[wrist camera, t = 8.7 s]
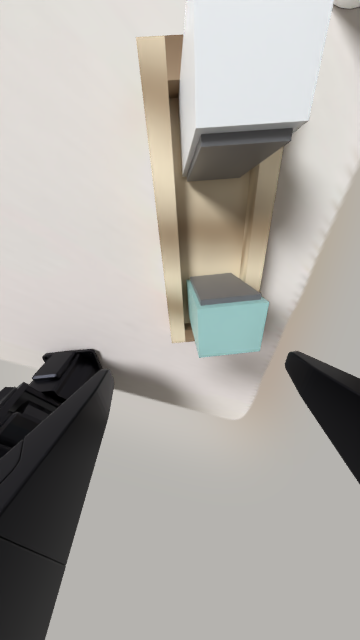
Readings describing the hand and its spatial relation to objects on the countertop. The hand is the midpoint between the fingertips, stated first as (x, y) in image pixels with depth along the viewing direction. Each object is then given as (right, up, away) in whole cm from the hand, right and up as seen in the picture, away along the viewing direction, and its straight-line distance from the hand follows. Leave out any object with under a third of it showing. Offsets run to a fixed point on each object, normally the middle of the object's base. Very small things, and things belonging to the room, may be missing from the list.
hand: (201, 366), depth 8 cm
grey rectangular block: (+1, +15, +3) cm, 16 cm away
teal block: (+2, +5, +9) cm, 11 cm away
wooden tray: (+2, +10, +8) cm, 13 cm away
